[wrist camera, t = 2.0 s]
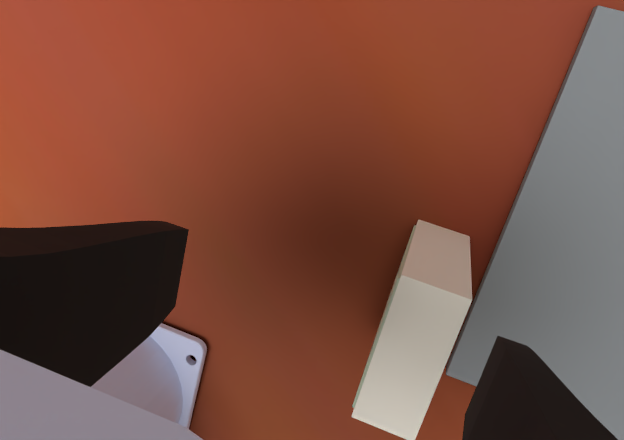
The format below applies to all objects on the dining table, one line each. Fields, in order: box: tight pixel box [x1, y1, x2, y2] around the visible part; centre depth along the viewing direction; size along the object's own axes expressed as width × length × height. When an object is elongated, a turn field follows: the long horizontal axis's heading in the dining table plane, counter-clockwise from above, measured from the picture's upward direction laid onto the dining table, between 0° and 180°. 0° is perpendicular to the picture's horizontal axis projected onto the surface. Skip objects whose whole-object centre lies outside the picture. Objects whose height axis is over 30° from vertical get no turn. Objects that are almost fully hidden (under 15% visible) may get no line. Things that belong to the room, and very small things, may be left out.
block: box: [352, 219, 472, 440], centre depth 18 cm, size 5×2×6 cm, turn 165°
